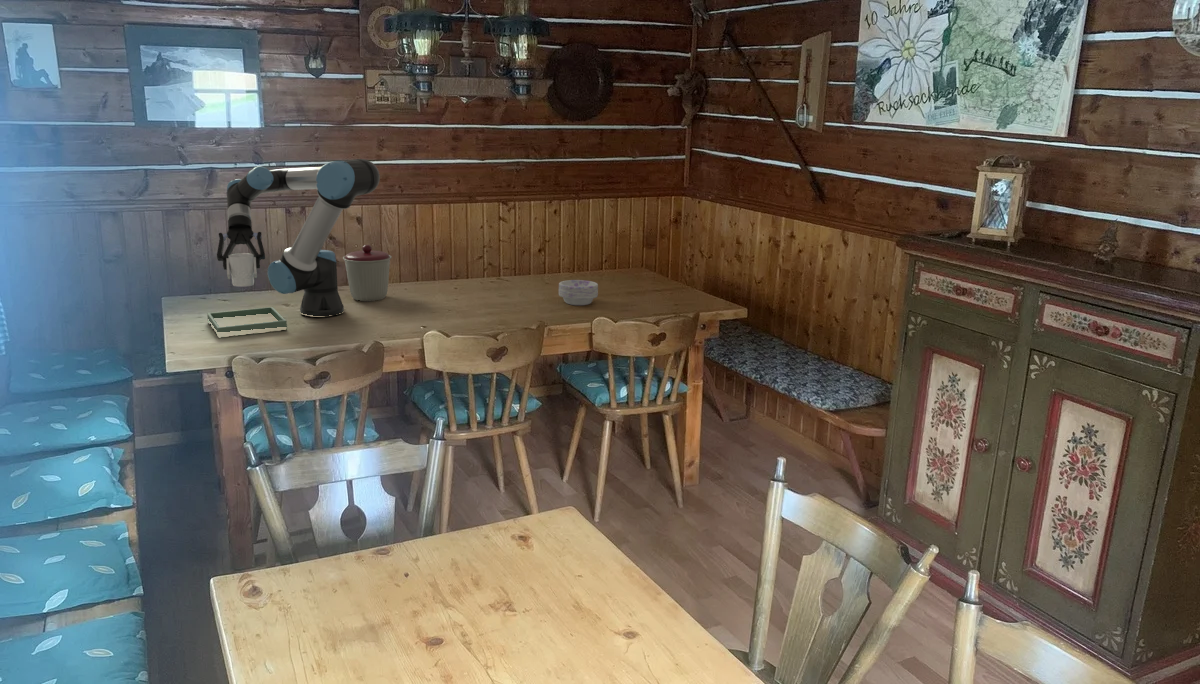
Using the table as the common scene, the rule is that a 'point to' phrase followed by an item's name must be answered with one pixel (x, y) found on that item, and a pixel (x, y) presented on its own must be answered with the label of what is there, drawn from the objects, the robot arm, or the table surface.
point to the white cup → (242, 269)
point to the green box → (266, 310)
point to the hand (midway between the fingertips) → (242, 276)
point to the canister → (368, 273)
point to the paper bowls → (578, 291)
